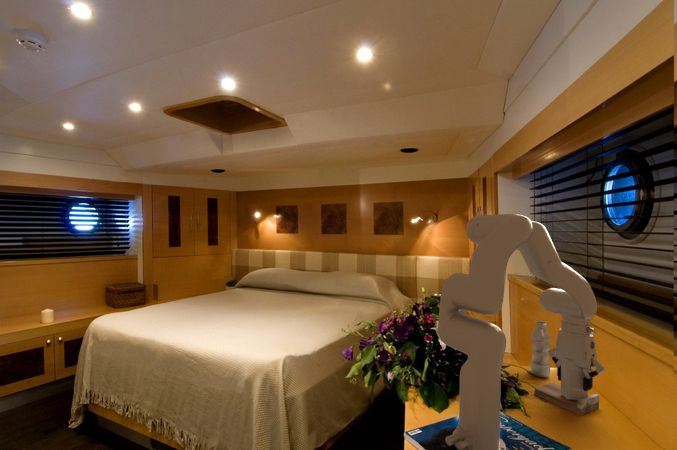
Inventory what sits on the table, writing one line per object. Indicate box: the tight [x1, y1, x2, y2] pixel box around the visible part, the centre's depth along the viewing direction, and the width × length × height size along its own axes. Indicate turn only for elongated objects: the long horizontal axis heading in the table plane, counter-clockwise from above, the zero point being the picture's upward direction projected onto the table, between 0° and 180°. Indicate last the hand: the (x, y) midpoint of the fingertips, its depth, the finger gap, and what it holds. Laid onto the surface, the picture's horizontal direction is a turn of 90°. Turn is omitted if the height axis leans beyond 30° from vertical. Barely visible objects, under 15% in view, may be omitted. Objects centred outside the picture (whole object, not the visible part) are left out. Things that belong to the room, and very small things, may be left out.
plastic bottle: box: [529, 320, 552, 378], centre depth 127 cm, size 6×7×20 cm
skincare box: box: [560, 358, 589, 400], centre depth 106 cm, size 6×4×12 cm
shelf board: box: [534, 382, 600, 417], centre depth 108 cm, size 10×14×4 cm
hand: (574, 384), depth 106 cm, fingers closed on skincare box, 6 cm apart
